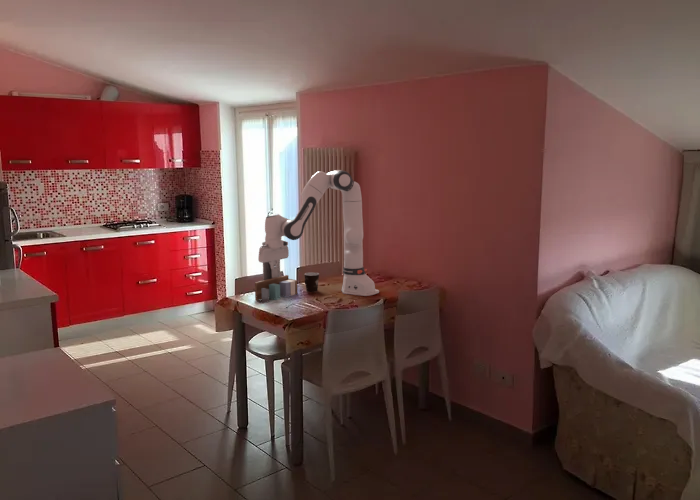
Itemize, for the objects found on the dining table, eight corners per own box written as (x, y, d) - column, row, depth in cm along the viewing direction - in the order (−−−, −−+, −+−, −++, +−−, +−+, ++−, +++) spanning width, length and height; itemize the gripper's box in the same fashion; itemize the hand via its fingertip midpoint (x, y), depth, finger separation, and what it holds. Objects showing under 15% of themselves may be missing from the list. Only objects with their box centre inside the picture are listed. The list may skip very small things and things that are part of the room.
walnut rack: (297, 293, 341) (297, 276, 339) (266, 302, 322) (265, 284, 320) (286, 291, 346) (286, 274, 345) (255, 300, 327) (254, 282, 325)
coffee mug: (313, 288, 355) (313, 271, 353) (322, 290, 348) (322, 274, 347) (297, 291, 348) (297, 274, 346) (305, 293, 341) (305, 276, 339)
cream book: (295, 294, 340) (295, 280, 338) (291, 295, 337) (290, 281, 336) (289, 293, 343) (288, 279, 341) (284, 294, 340) (284, 280, 339)
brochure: (272, 294, 338) (271, 243, 334) (263, 294, 340) (262, 242, 335) (280, 289, 352) (279, 239, 347) (271, 288, 353) (270, 239, 348)
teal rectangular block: (280, 298, 330) (280, 284, 329) (275, 299, 327) (275, 285, 326) (273, 297, 333) (273, 283, 332) (269, 298, 330) (269, 284, 329)
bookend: (269, 301, 323) (268, 289, 322) (262, 303, 320) (262, 290, 319) (262, 300, 326) (262, 287, 325) (256, 301, 323) (256, 289, 322)
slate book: (290, 295, 337) (290, 282, 335) (286, 297, 334) (285, 283, 332) (284, 294, 340) (283, 280, 338) (279, 295, 337) (279, 282, 335)
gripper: (263, 246, 315) (264, 272, 317) (290, 242, 331) (290, 266, 333) (255, 245, 319) (256, 270, 321) (282, 240, 335) (282, 265, 337)
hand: (273, 268), depth 327 cm, fingers closed
